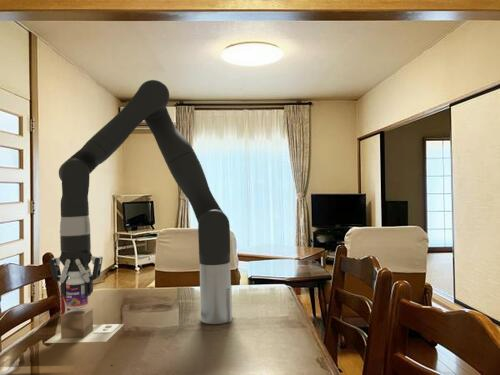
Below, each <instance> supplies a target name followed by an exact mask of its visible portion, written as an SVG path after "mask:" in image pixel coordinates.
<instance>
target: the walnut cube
mask: <svg viewBox="0 0 500 375" xmlns="http://www.w3.org/2000/svg"><path fill="white" fill-rule="evenodd" d="M93 310H94V309H93V308H80V309H71V310H69V311H67V312H66V313H64V314H62V315H61V314H60V331H61V339H64V338H85V337H86V336H87V335H88V334H89V333H91V332H92V331H93V325H94V319H93V318H94V316H93V314H94V313H93V312H94V311H93Z"/></svg>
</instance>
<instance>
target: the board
mask: <svg viewBox="0 0 500 375" xmlns="http://www.w3.org/2000/svg"><path fill="white" fill-rule="evenodd" d="M119 324H120V325H119V326H118V327H117V328H116V329H115V330H114V331H113V332H112V333H93V332H94V331H96V330H97V329H98V328H99V327H100V326H102V325H103V324H93V331H92V332H91V333H89V334H88V335H87V336H86V337H85V338H64V339H61V330H60V331H59V332H58V333H56V334H55V335H53V336H51V337H50V338H49V339H47V340H46V341H44V344H59V343H60V344H62V343H65V344H66V343H67V344H68V343H69V344H70V343H107V342H108V340H110V339H111V338H112V337H113V336H114V335H115V334H116V333H117V332H118V331H119V330H120V329H121V328H122V327H123V326H124V325H125V323H119Z"/></svg>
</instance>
